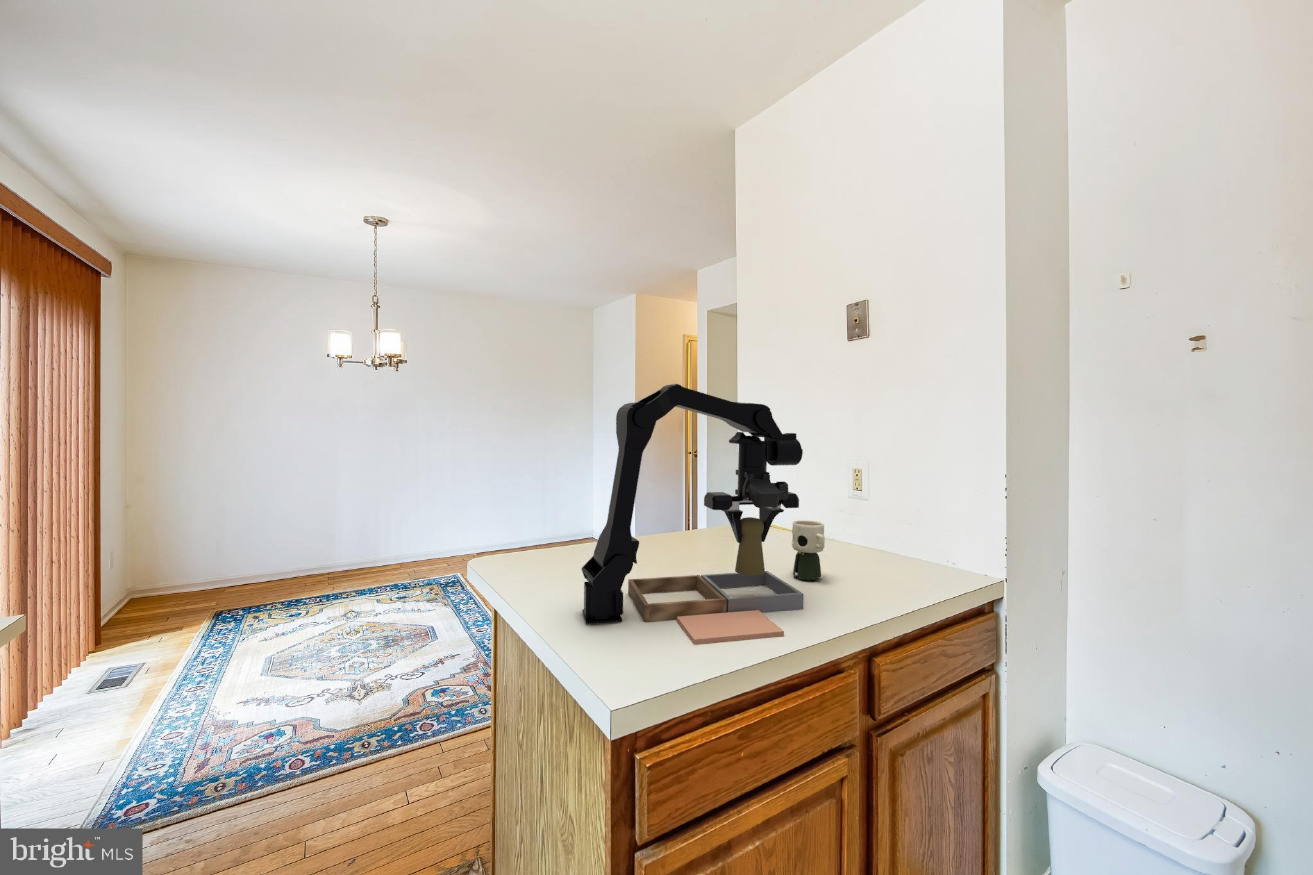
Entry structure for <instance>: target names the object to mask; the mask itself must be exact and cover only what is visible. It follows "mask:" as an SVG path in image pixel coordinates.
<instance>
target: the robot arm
mask: <svg viewBox="0 0 1313 875" xmlns="http://www.w3.org/2000/svg"><path fill="white" fill-rule="evenodd" d="M674 408H679V409H683V410H687V411H689V412H693V413H697V414H700V415H704V416H707V417H711V418H715V419H717V420H721V421H723V422H725V423H726V424H727V425H729V426H730V427H732V428H734V429H736V430H738V431H736V433H735V434H734V435H733V436H732V437H730V439H728V443H729V444H734V445H735V444H737V445H738V454H737V455H738V456H737V458H738V460H737V461H738V463H737V464H738V466H737V469H735V475H736V476H737V488H736V489H735V490H734V492H735V493H734V494H735V495H731V494H729V493H726V492H723V491H717V492H715V491H714V492H712V491H709V492H706V494H705V495H704V497H703V506H704V507H706V508H708V509H711V510H713V511H722V512H724V515H725V517H726V518H727V519H728V522H729V524H730V527H731V529H732V530H731V531H732V532H733V535H734V538H735V541H736V542H737V544H739V543H741V519H742V516H743V513H744V511H743V510H741V509H740V506H746V505H747V506H748V505H749V506H750V505H751V506H752V505H753V506H754V507H756V508H758V510H759V511H758V512H759V513H758V516H759V518H758V519H760V520H762V522H763V524H764V530H763V533H762V534H761V540H762V543H765V541H766V539H767V535H768V533H769V531H770V529H771V526H772V523H773V521H774V519H775V518H776V516H778V515H779V514H780V513H783V512H784V511H785V509H799V508H800V498H799V496H798V494H796V493H794V492H791V491H789V484H788V483H787V482H786V481H776V482H771V475H770V471H767V469H768V468H767V467H768V466H767V465H769V466H774V467H775V466H797V465H798V464H800V462H801V460H802V458H803V454H804V450H803V448H802V445H801V443H800V441H799V439H797V432H786V433H782V431H781V430H780V427H779V426H778V424H777V423H776V421H775V418H774V417H773V413H772V410H771V408H770V407H769V406H768V405H766V404H762V403H754V402H752V403H751V402H738V401H737V402H736V401H731V400H727V399H724V398H721V397H717V396H715V395H711V394H708V393H704V392H701V391H698V390H695V389H691V388H687V387H684V386H682V385H681V384H679V383H671V384H666V385H663V386H662V387H661V388H659V389H658V390H657V391H655V392H653V393H651V394H650V395H647V396H645V397H644V398H642V399H640V400H638V401H637V402H635V401H634V402H627V403H625V404H623V405H621V407H619V409H618V410H617V412H616V415H615V416H616V418H615V428H616V429H615V433H616V440H617V445H618V451H617V452H618V453H617V457H616V458H617V459H616V465H615V471H614V478H613V484H612V489H611V496H610V500H609V501H610V502H609V508H608V514H607V518H606V519H607V520H606V524H605V526H604V527H603V529H602V531H601V533H600V535H599V536H598V539H597V542H596V545H595V548H594V551H593V555H592V556H591V558H589V560H588V561H587V562H586V563H584V565H583V566H582V567H581V572H582V574H583V577H584V579H585V580H586V581H584V582H583V609H582V615H583V616H582V617H583V619H584V620H583V621H584V622H585V624H586V625H599V624H610V623H620V622H621V623H622V621H623V618H622V615H623V614H624V592H623V590H622V588H623V585H624V582H625V579H626V577H627V575H628V574H630V573H631V571H632V570H633V566H634V564H635V565H637V564H638V561H637V554H638V553H637V552H638V550H639V546H640V541H639V540H638V539H637V538H635V536H632V531H631V526H632V520H633V515H634V507H635V502H636V498H637V497H636V496H637V495H636V494H637V490H638V483H639V477H640V471H641V465H642V461H643V460H642V458H643V453H644V451H645V449H646V447H647V446H648V444H649V442H650V440H651V439H652V437H653V436H652V435H653V433H654V429H655V427H656V423H657V421H659V420H660V419H662V418H663V417H666V415H667V414H669V412H671V411H672V410H673V409H674ZM745 433H748V434H750V435H746V434H745ZM761 438H763V440H762V439H761ZM782 507H783V508H785V509H783V508H782Z"/></svg>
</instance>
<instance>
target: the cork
mask: <svg viewBox="0 0 1313 875" xmlns="http://www.w3.org/2000/svg"><path fill="white" fill-rule="evenodd" d="M763 530H764V524H763V522H762V520H760V519H759V518H758V517H757V518H756V517H751V516H748V517H741V543H738V549H737V555H736V563H735V569H734V571H735V572H734V573H739V574H742V575H748V576H759V575H763V574H764V573H765V571H766V570H765V568H766V567H765V561H764V553H763V552H764V550H763V542H762V540H761V534H762V533H763Z"/></svg>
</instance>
